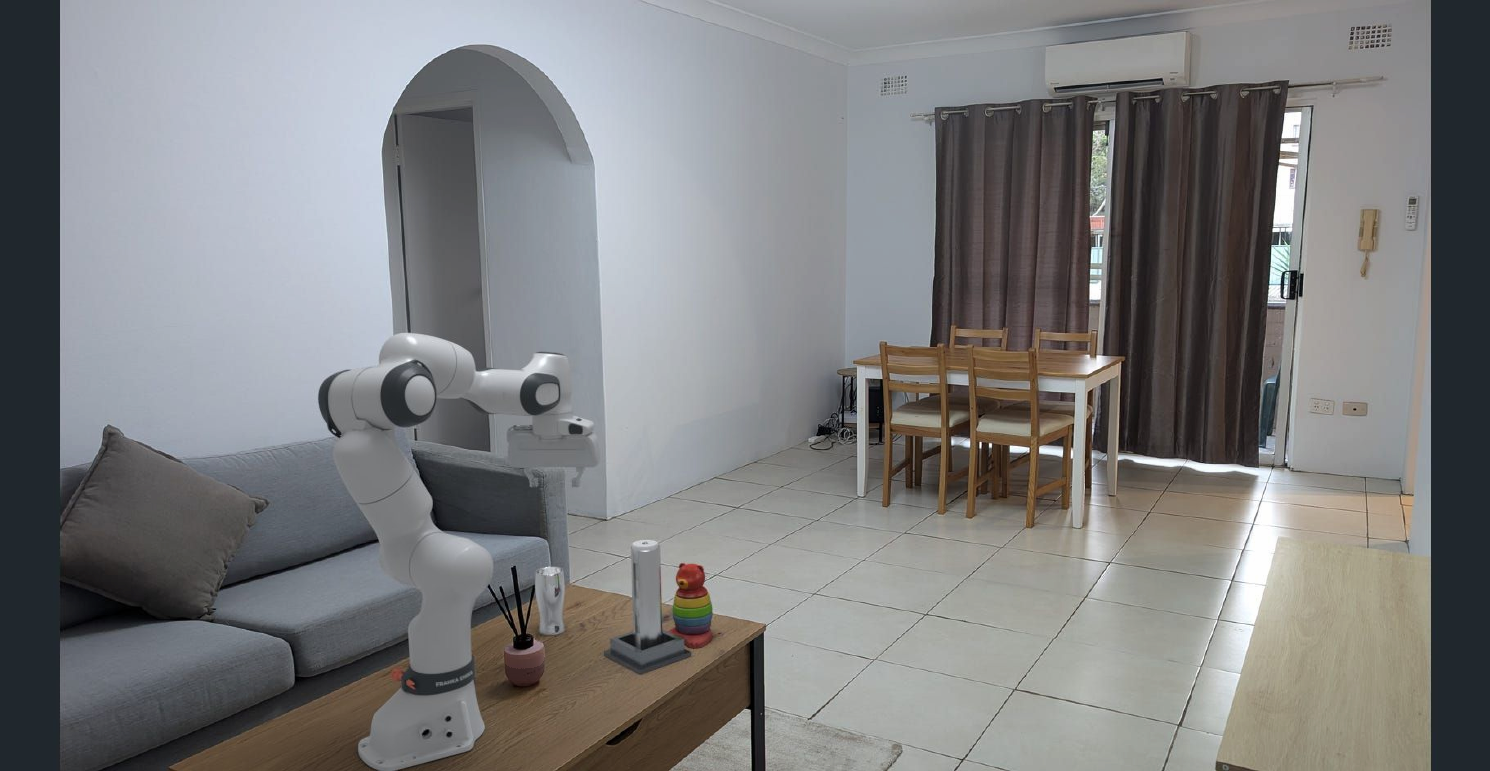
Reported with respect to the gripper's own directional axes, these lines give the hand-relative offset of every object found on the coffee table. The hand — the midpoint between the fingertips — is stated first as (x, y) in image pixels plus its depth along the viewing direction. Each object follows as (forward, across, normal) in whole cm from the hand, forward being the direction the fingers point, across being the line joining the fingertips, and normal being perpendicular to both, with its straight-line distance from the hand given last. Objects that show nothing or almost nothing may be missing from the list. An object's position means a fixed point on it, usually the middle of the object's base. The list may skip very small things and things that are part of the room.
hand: (555, 486), depth 215 cm
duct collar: (+39, +20, 0) cm, 43 cm away
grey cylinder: (+38, +20, +1) cm, 43 cm away
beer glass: (+39, -6, +14) cm, 42 cm away
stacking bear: (+39, +28, +10) cm, 49 cm away
